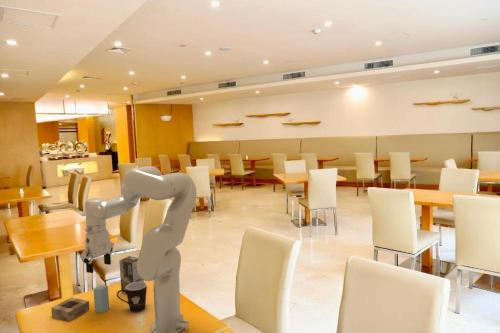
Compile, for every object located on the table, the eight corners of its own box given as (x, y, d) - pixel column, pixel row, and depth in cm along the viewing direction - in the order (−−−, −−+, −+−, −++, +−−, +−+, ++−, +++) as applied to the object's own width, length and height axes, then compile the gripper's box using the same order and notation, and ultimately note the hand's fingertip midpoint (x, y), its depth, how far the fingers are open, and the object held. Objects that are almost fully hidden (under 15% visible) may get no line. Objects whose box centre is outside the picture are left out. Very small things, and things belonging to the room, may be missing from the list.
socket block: (89, 310, 155) (88, 301, 155) (69, 321, 146) (69, 312, 146) (72, 306, 159) (71, 297, 159) (51, 317, 150) (51, 307, 149)
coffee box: (144, 292, 171) (143, 258, 170) (134, 297, 166) (132, 263, 164) (131, 288, 176) (129, 255, 175) (120, 293, 171) (118, 259, 169)
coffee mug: (151, 304, 158) (150, 282, 157) (140, 314, 150) (139, 291, 149) (128, 302, 162) (127, 280, 161) (116, 311, 153) (114, 288, 152)
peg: (109, 308, 156) (107, 286, 155) (102, 312, 152) (100, 289, 151) (102, 307, 158) (100, 284, 157) (94, 311, 154) (93, 288, 153)
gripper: (86, 234, 142) (89, 277, 144) (118, 223, 158) (120, 262, 160) (72, 233, 145) (75, 274, 147) (105, 222, 161) (107, 260, 163)
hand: (99, 268), depth 153 cm, fingers open, 9 cm apart
